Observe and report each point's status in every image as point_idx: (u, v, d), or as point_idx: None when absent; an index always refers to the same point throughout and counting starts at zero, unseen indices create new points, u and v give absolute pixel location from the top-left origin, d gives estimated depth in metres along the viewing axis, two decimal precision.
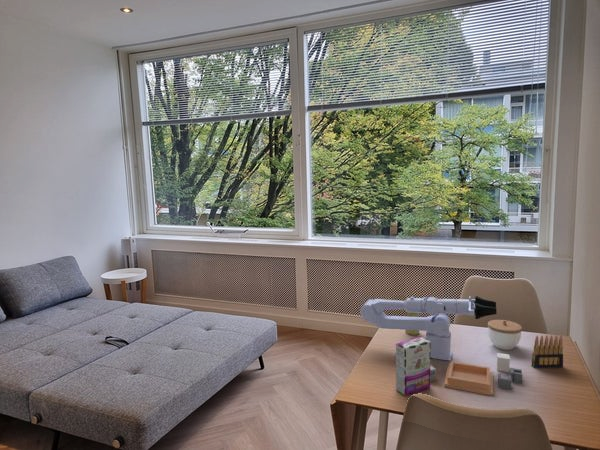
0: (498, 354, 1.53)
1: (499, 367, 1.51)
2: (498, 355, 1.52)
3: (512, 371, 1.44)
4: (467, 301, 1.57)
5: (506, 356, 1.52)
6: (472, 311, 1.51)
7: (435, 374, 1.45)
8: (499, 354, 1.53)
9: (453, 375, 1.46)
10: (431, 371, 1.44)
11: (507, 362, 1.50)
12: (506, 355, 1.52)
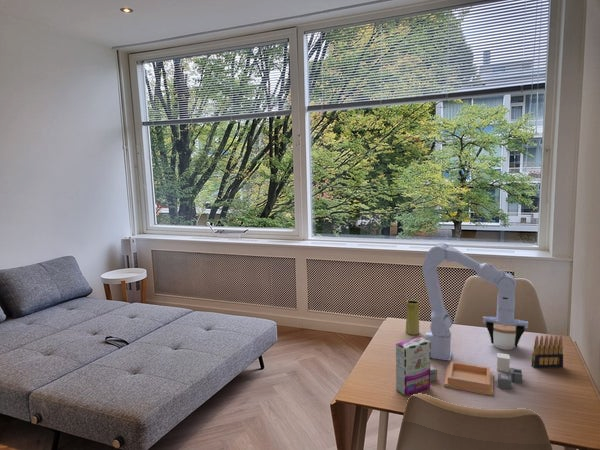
0: (498, 354, 1.53)
1: (499, 367, 1.51)
2: (498, 355, 1.52)
3: (512, 371, 1.44)
4: (501, 320, 1.49)
5: (506, 356, 1.52)
6: (483, 321, 1.53)
7: (435, 374, 1.45)
8: (499, 354, 1.53)
9: (453, 375, 1.46)
10: (431, 371, 1.44)
11: (507, 362, 1.50)
12: (506, 355, 1.52)
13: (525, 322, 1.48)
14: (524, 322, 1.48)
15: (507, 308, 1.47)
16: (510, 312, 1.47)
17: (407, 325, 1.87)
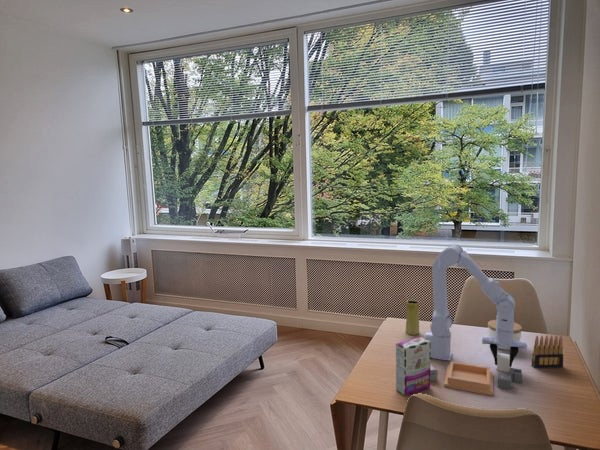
0: (498, 354, 1.53)
1: (499, 367, 1.51)
2: (498, 355, 1.52)
3: (512, 371, 1.44)
4: (500, 341, 1.49)
5: (506, 356, 1.52)
6: (482, 342, 1.54)
7: (435, 374, 1.45)
8: (500, 354, 1.53)
9: (453, 375, 1.46)
10: (431, 371, 1.44)
11: (507, 361, 1.50)
12: (506, 355, 1.52)
13: (524, 344, 1.49)
14: (523, 344, 1.49)
15: (506, 330, 1.48)
16: (509, 334, 1.48)
17: (407, 325, 1.87)
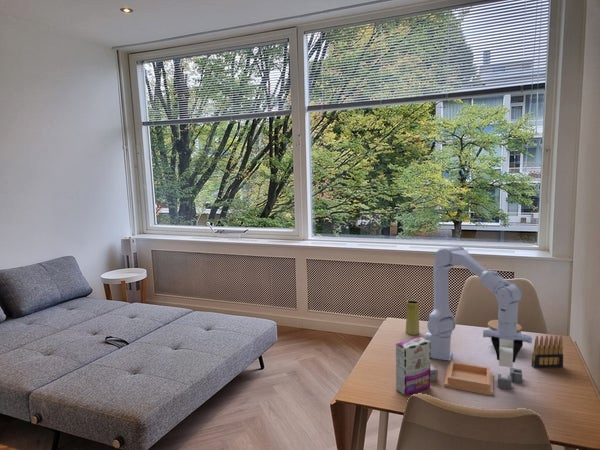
0: (500, 348, 1.41)
1: (502, 362, 1.39)
2: (500, 349, 1.40)
3: (512, 371, 1.44)
4: (503, 334, 1.37)
5: (509, 350, 1.39)
6: (483, 335, 1.41)
7: (436, 374, 1.45)
8: (502, 348, 1.41)
9: (453, 375, 1.46)
10: (432, 371, 1.44)
11: (510, 356, 1.37)
12: (509, 349, 1.40)
13: (529, 337, 1.36)
14: (528, 337, 1.36)
15: (504, 321, 1.36)
16: (512, 326, 1.36)
17: (407, 325, 1.87)
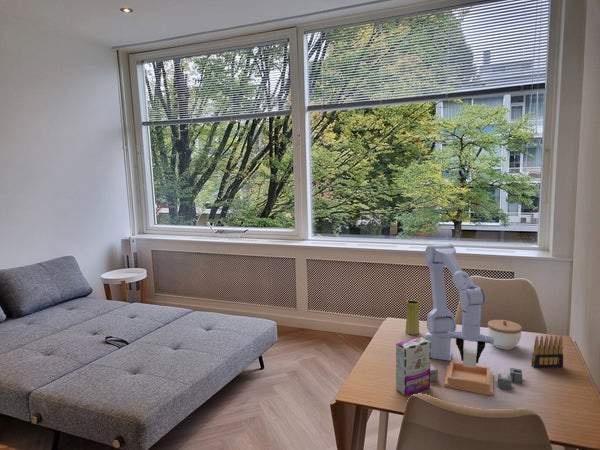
0: (465, 349, 1.44)
1: (466, 363, 1.42)
2: (465, 350, 1.44)
3: (512, 371, 1.44)
4: (466, 335, 1.41)
5: (472, 351, 1.43)
6: (447, 336, 1.45)
7: (436, 374, 1.45)
8: (466, 349, 1.44)
9: (453, 375, 1.46)
10: (432, 371, 1.44)
11: (474, 357, 1.41)
12: (473, 350, 1.43)
13: (491, 338, 1.40)
14: (490, 338, 1.40)
15: (465, 322, 1.41)
16: (475, 327, 1.39)
17: (407, 325, 1.87)
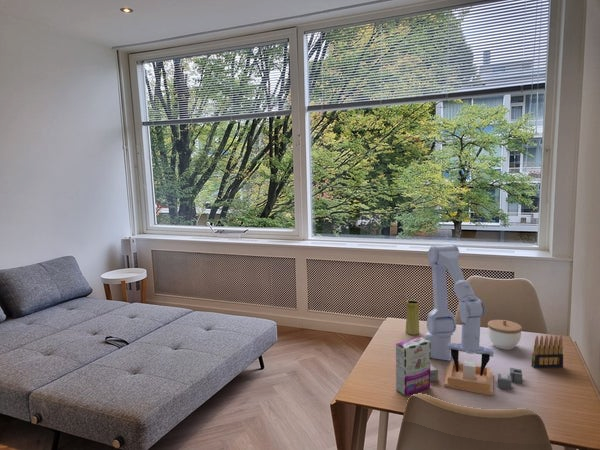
0: (464, 362, 1.45)
1: (465, 376, 1.43)
2: (464, 363, 1.44)
3: (512, 371, 1.44)
4: (466, 348, 1.41)
5: (472, 364, 1.43)
6: (447, 348, 1.45)
7: (436, 375, 1.45)
8: (466, 362, 1.45)
9: (453, 375, 1.46)
10: (432, 371, 1.44)
11: (473, 370, 1.42)
12: (472, 363, 1.44)
13: (490, 350, 1.40)
14: (489, 350, 1.40)
15: (464, 334, 1.41)
16: (475, 340, 1.40)
17: (407, 325, 1.87)
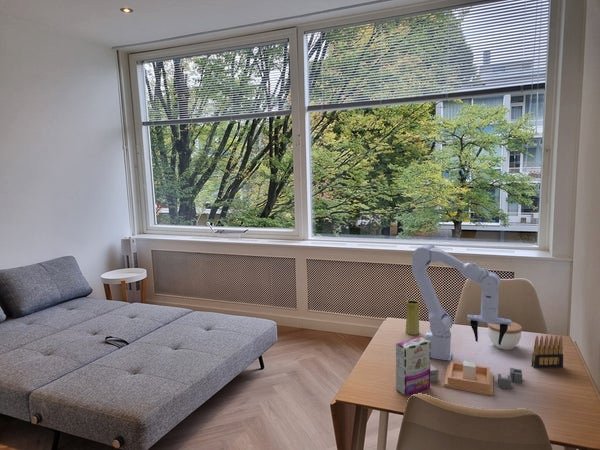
0: (464, 362, 1.45)
1: (465, 376, 1.43)
2: (464, 363, 1.44)
3: (512, 371, 1.44)
4: (485, 318, 1.50)
5: (472, 364, 1.43)
6: (467, 319, 1.55)
7: (436, 375, 1.45)
8: (466, 362, 1.45)
9: (453, 375, 1.46)
10: (432, 372, 1.44)
11: (473, 370, 1.42)
12: (472, 363, 1.44)
13: (508, 320, 1.49)
14: (507, 320, 1.50)
15: (490, 306, 1.49)
16: (493, 310, 1.49)
17: (407, 325, 1.87)
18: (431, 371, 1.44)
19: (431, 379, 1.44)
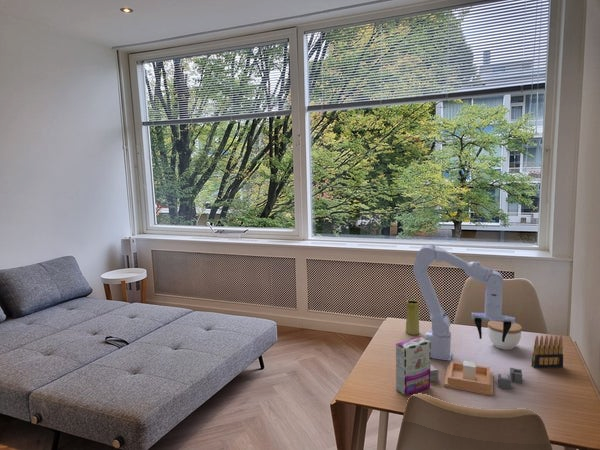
0: (464, 362, 1.45)
1: (465, 376, 1.43)
2: (464, 363, 1.44)
3: (512, 371, 1.44)
4: (489, 316, 1.53)
5: (472, 364, 1.43)
6: (471, 317, 1.57)
7: (436, 375, 1.45)
8: (466, 362, 1.45)
9: (453, 375, 1.46)
10: (432, 372, 1.44)
11: (473, 370, 1.42)
12: (472, 363, 1.44)
13: (512, 318, 1.52)
14: (511, 318, 1.52)
15: (495, 304, 1.51)
16: (497, 308, 1.51)
17: (407, 325, 1.87)
18: (431, 371, 1.44)
19: (431, 379, 1.44)
